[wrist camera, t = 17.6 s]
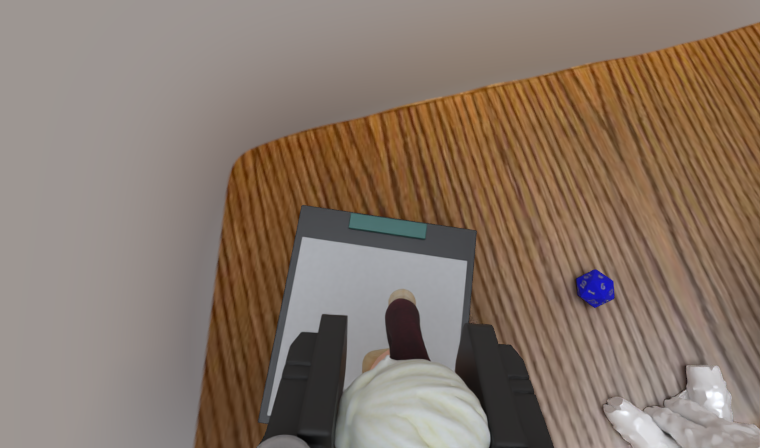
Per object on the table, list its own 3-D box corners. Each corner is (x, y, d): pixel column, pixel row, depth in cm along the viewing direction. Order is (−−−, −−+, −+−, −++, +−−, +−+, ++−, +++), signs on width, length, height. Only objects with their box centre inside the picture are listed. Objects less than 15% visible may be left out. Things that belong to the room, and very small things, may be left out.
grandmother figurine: (438, 467, 19) (571, 704, 7) (355, 475, 19) (338, 735, 7) (421, 298, 21) (499, 248, 9) (346, 304, 21) (318, 261, 9)
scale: (265, 415, 31) (254, 425, 28) (306, 213, 35) (299, 201, 32) (451, 443, 31) (460, 456, 28) (469, 237, 35) (479, 227, 32)
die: (607, 283, 34) (627, 303, 32) (577, 297, 35) (595, 319, 32) (595, 258, 33) (614, 277, 31) (565, 274, 34) (581, 293, 31)
